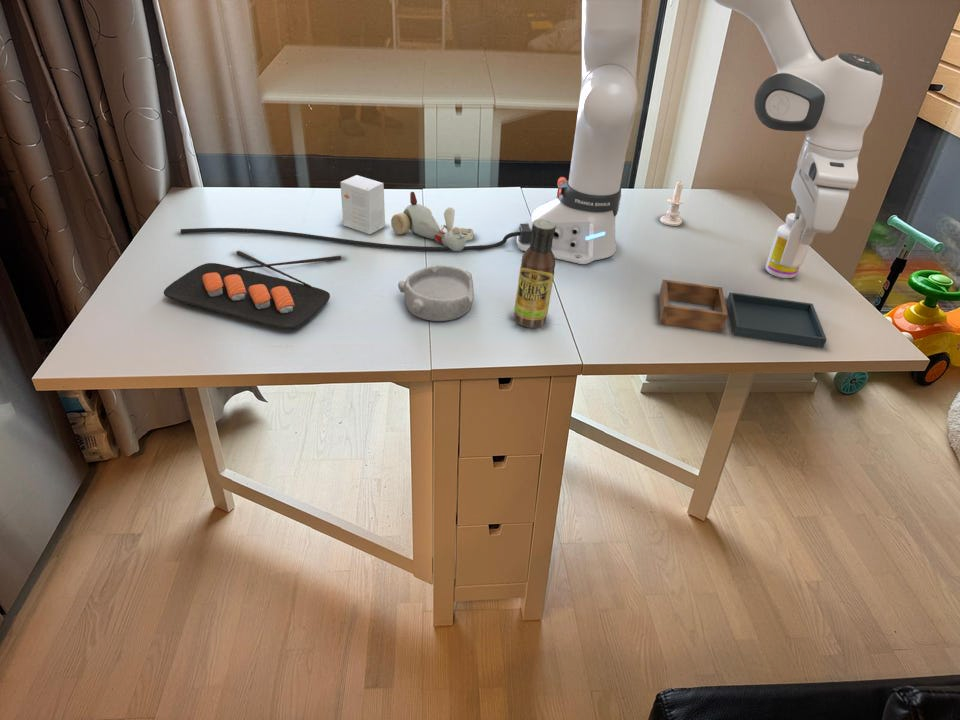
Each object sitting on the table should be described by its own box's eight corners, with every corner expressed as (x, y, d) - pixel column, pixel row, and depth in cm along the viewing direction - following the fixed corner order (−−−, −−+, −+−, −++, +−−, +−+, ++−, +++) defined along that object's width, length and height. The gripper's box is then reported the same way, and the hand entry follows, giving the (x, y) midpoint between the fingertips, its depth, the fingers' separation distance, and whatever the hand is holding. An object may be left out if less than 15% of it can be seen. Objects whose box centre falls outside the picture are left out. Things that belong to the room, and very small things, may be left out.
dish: (467, 284, 144) (469, 262, 142) (482, 321, 134) (484, 298, 131) (395, 288, 141) (395, 266, 139) (405, 326, 130) (405, 303, 128)
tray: (733, 335, 135) (736, 326, 134) (726, 300, 145) (729, 292, 144) (823, 348, 133) (826, 339, 132) (809, 312, 144) (812, 303, 142)
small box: (385, 227, 164) (384, 183, 158) (369, 235, 160) (368, 190, 154) (358, 217, 167) (356, 174, 161) (342, 225, 163) (339, 181, 157)
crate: (660, 323, 137) (664, 305, 134) (658, 296, 145) (662, 279, 143) (722, 332, 135) (727, 314, 133) (717, 304, 144) (722, 287, 141)
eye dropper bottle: (811, 267, 131) (834, 205, 124) (785, 269, 129) (806, 207, 122) (796, 256, 134) (817, 195, 127) (771, 258, 133) (791, 197, 126)
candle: (681, 218, 178) (691, 178, 172) (681, 227, 174) (691, 186, 167) (660, 215, 178) (669, 175, 172) (660, 224, 174) (669, 183, 168)
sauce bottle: (510, 326, 133) (519, 227, 121) (517, 309, 138) (527, 212, 126) (543, 332, 132) (557, 233, 120) (550, 316, 137) (563, 218, 125)
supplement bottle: (798, 281, 154) (818, 226, 147) (766, 276, 155) (784, 221, 148) (793, 267, 159) (812, 213, 152) (763, 263, 160) (780, 209, 153)
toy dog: (459, 257, 154) (461, 218, 149) (381, 239, 159) (380, 201, 153) (479, 235, 163) (482, 197, 158) (405, 218, 168) (405, 182, 163)
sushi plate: (157, 302, 132) (153, 284, 130) (253, 237, 156) (251, 221, 153) (295, 339, 125) (293, 321, 123) (374, 266, 148) (373, 249, 146)
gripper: (796, 138, 129) (774, 209, 137) (819, 178, 113) (792, 257, 121) (833, 141, 128) (808, 213, 136) (861, 183, 112) (831, 262, 120)
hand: (801, 234), depth 128 cm, fingers closed on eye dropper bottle, 5 cm apart
